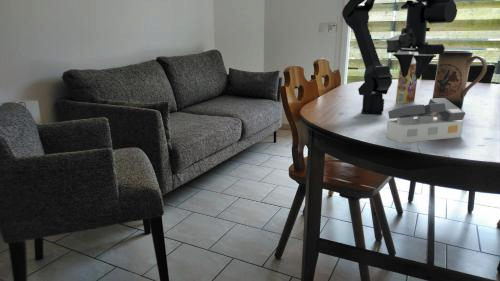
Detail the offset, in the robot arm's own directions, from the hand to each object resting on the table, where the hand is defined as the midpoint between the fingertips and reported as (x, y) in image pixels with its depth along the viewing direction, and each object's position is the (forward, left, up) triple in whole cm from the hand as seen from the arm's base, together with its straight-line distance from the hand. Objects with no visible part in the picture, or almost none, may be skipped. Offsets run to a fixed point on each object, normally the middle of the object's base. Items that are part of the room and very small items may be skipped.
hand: (410, 77), depth 112 cm
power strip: (+1, -22, -13) cm, 25 cm away
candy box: (+4, +34, -13) cm, 37 cm away
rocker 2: (+1, -22, -6) cm, 22 cm away
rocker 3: (+6, -19, -6) cm, 21 cm away
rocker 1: (-4, -25, -6) cm, 26 cm away
